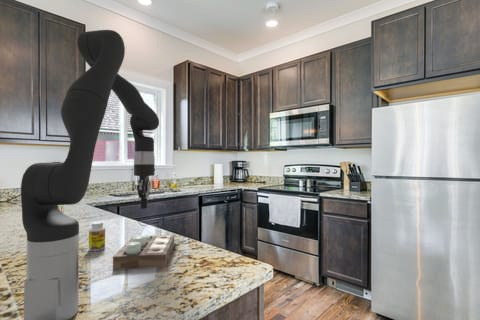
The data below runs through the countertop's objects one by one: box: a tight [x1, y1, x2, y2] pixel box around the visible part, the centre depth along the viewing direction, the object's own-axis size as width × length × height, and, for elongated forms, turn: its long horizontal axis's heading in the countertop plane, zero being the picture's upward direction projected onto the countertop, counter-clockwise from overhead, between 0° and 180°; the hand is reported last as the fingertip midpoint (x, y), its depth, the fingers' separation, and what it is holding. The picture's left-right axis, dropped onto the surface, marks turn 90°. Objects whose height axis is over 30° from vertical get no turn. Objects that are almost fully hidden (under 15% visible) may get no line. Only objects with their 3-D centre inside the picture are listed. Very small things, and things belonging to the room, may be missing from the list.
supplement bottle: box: [88, 221, 106, 252], centre depth 101 cm, size 6×6×10 cm
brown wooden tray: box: [112, 234, 175, 271], centre depth 94 cm, size 23×16×4 cm
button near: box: [125, 242, 141, 255], centre depth 86 cm, size 5×5×4 cm
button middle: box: [131, 235, 146, 247], centre depth 94 cm, size 5×5×4 cm
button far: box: [141, 234, 151, 241], centre depth 101 cm, size 5×5×4 cm
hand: (144, 208), depth 101 cm, fingers closed
